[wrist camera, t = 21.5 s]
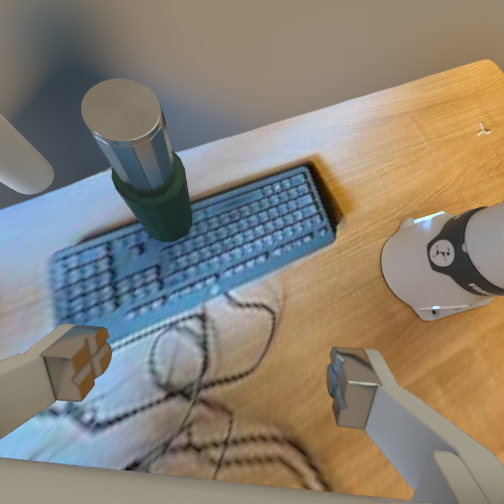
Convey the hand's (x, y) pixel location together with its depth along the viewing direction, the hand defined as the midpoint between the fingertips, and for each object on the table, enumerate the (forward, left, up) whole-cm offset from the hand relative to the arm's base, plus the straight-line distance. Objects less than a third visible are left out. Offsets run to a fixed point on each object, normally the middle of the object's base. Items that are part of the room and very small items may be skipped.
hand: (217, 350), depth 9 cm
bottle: (+7, -17, -30) cm, 35 cm away
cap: (+7, -17, -16) cm, 24 cm away
